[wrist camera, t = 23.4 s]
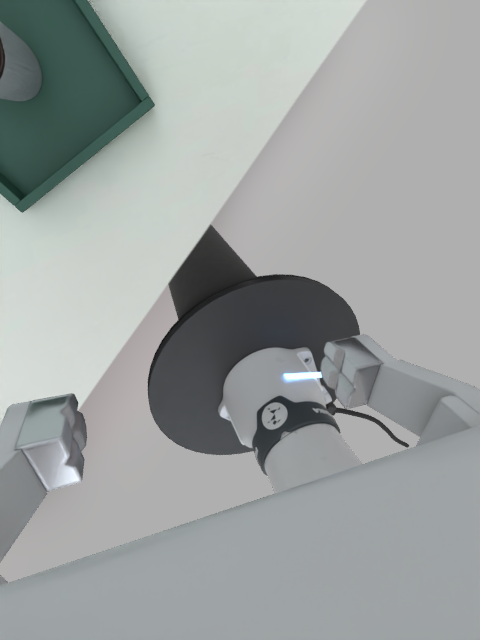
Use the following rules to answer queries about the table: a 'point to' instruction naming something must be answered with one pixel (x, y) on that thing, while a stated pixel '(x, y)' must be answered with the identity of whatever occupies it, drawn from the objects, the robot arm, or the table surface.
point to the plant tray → (63, 97)
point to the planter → (17, 68)
